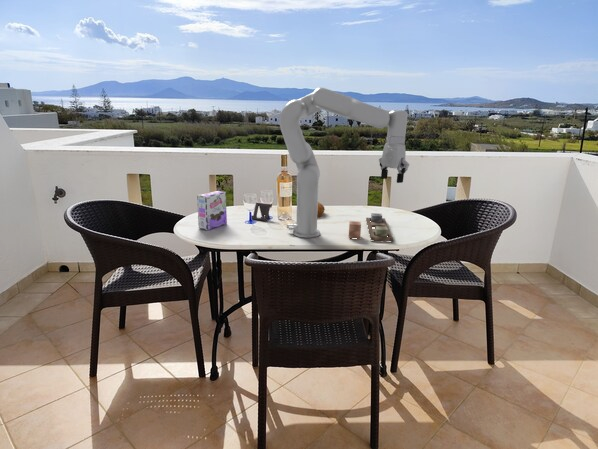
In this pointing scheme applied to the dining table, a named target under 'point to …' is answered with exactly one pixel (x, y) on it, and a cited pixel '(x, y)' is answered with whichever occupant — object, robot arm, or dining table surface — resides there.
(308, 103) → the robot arm
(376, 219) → the walnut puzzle base
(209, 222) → the candy box
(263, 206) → the portable electronic device stand
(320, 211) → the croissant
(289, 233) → the dining table surface
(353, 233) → the terracotta block
